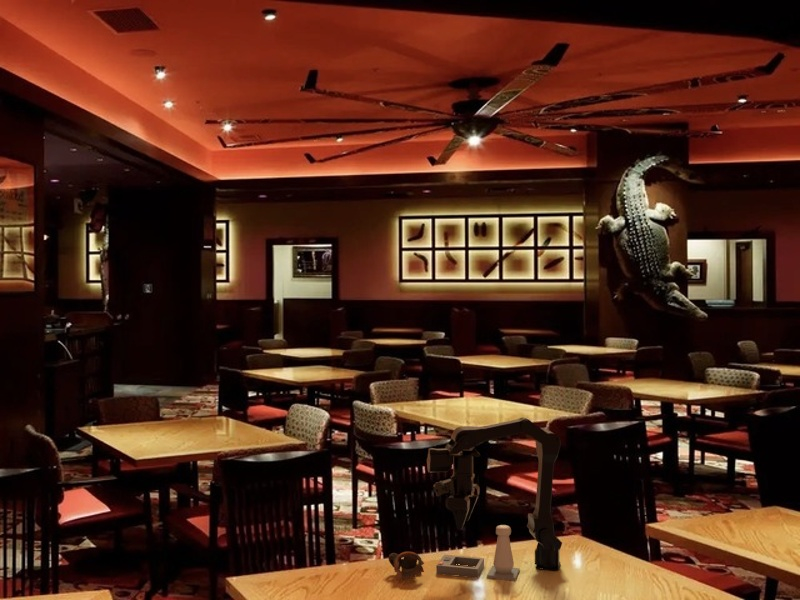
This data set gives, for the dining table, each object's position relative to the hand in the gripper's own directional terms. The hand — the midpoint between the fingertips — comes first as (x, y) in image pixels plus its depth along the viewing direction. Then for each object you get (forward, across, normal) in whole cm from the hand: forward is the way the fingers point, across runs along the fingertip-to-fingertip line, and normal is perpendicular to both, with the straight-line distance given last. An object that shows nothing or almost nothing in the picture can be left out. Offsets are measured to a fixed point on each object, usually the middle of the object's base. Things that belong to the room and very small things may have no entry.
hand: (463, 525), depth 229 cm
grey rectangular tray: (+13, 0, -1) cm, 13 cm away
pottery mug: (+14, +9, -15) cm, 22 cm away
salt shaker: (+12, 0, +12) cm, 17 cm away
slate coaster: (+13, 0, +12) cm, 18 cm away
